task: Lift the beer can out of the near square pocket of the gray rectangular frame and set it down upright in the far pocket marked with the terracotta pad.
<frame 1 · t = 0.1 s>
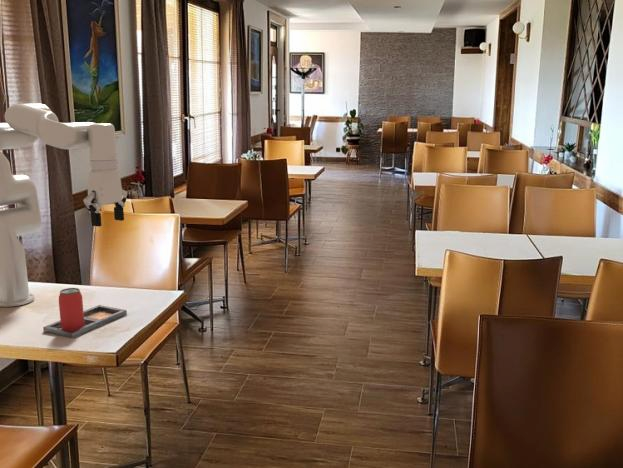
hand: (108, 223, 189), 31 cm above the table, fingers open, 9 cm apart
gray rectangular frame: (86, 322, 195), on the table
beer can: (73, 329, 190), resting in gray rectangular frame
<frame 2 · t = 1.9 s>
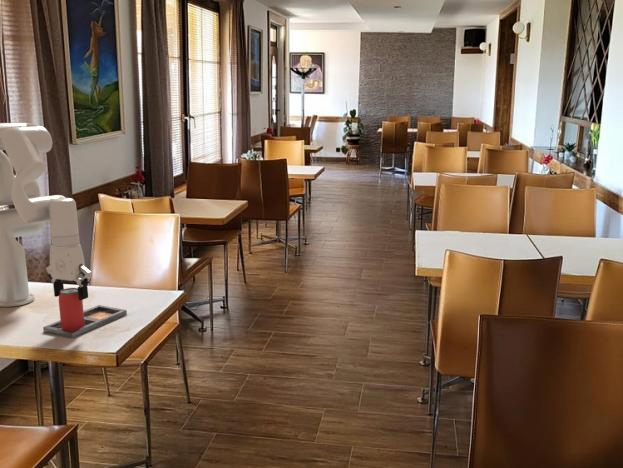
hand: (71, 297, 187), 10 cm above the table, fingers open, 9 cm apart
nothing on the table moved.
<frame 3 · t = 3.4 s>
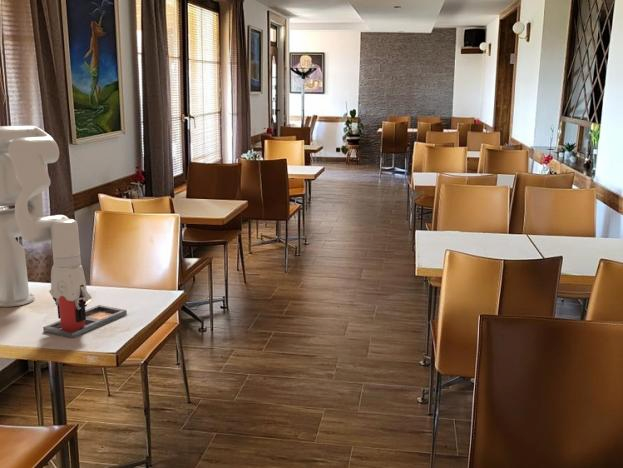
hand: (72, 318, 189), 3 cm above the table, fingers closed on beer can, 6 cm apart
beer can: (73, 329, 190), resting in gray rectangular frame, touching gripper
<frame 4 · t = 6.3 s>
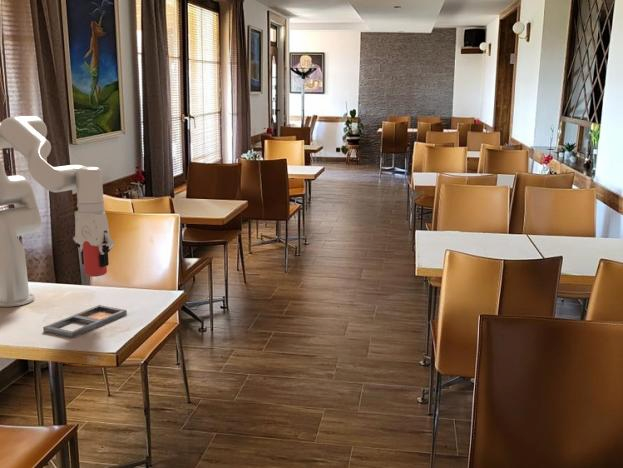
hand: (95, 264, 196), 17 cm above the table, fingers closed on beer can, 6 cm apart
beer can: (96, 274, 197), point 14 cm above the table, touching gripper
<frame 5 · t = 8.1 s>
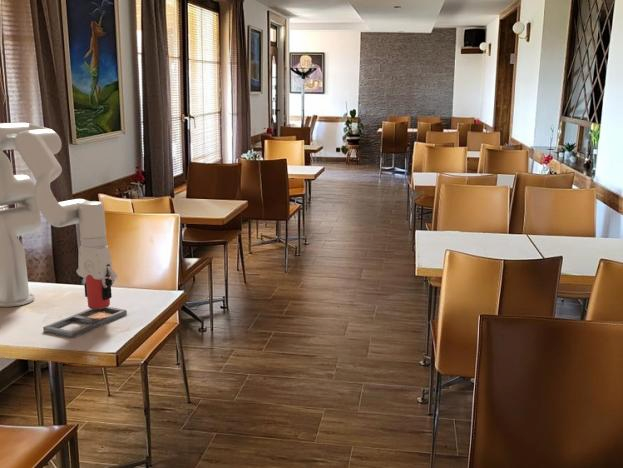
hand: (98, 296, 198), 7 cm above the table, fingers closed on beer can, 6 cm apart
beer can: (99, 307, 199), point 3 cm above the table, touching gripper
when the fingers open (5 cm above the table, at t = 9.5 s): beer can drops 1 cm, resting on gray rectangular frame.
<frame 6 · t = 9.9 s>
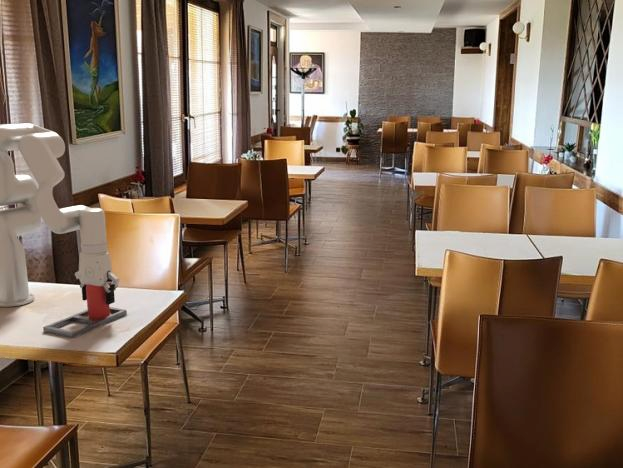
hand: (98, 301, 198), 5 cm above the table, fingers open, 9 cm apart
beer can: (99, 317, 200), resting on gray rectangular frame
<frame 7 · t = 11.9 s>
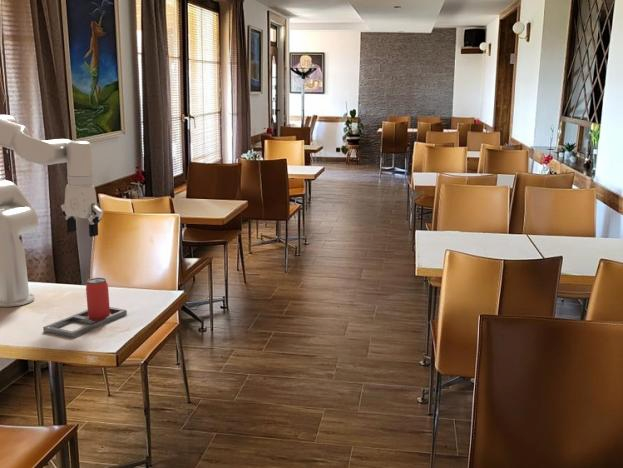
hand: (82, 233, 203), 25 cm above the table, fingers open, 9 cm apart
nothing on the table moved.
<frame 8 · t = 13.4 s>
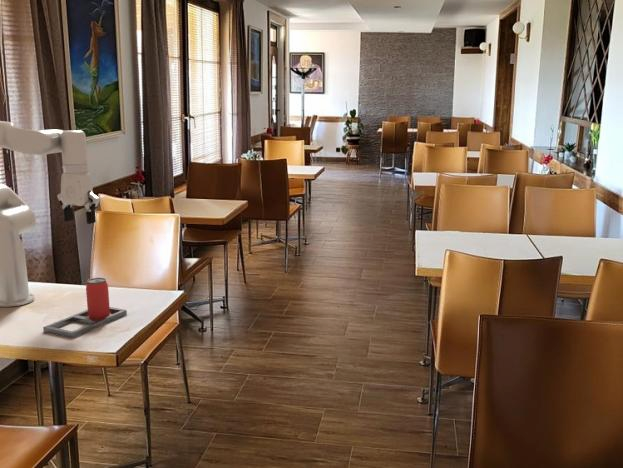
hand: (80, 221, 206), 28 cm above the table, fingers open, 9 cm apart
nothing on the table moved.
at the end: beer can 0.2 cm from the target spot on the gray rectangular frame, point 0.0 cm above the gray rectangular frame's base; beer can tilted 0°; the gripper is holding nothing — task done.
